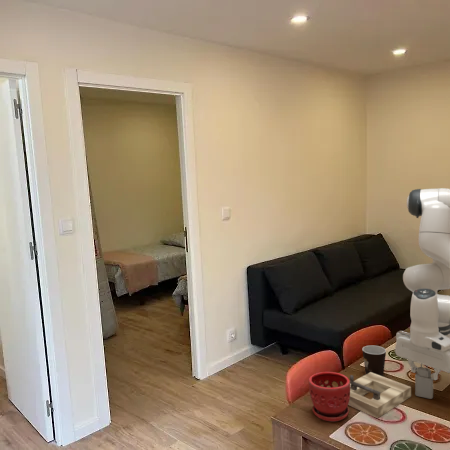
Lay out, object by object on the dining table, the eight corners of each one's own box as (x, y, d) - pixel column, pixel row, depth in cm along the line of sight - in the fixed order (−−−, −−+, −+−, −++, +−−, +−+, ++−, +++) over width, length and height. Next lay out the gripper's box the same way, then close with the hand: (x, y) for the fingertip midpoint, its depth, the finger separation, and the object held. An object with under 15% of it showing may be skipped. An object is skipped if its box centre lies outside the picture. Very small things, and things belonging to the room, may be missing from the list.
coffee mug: (387, 380, 168) (387, 354, 167) (363, 379, 170) (363, 354, 168) (383, 366, 179) (383, 342, 178) (361, 365, 181) (360, 342, 180)
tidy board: (370, 380, 168) (370, 360, 167) (410, 396, 155) (410, 374, 154) (336, 399, 156) (336, 377, 155) (377, 418, 143) (377, 394, 142)
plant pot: (359, 413, 147) (358, 378, 145) (333, 429, 138) (332, 393, 137) (326, 399, 157) (325, 366, 155) (301, 413, 149) (300, 379, 147)
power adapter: (416, 391, 158) (416, 359, 157) (433, 395, 155) (433, 361, 154) (414, 395, 156) (414, 362, 154) (431, 399, 153) (431, 365, 151)
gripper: (391, 331, 159) (391, 368, 161) (449, 348, 143) (449, 389, 145) (401, 327, 163) (401, 363, 165) (458, 342, 147) (458, 382, 148)
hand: (424, 375), depth 154 cm, fingers closed on power adapter, 6 cm apart
